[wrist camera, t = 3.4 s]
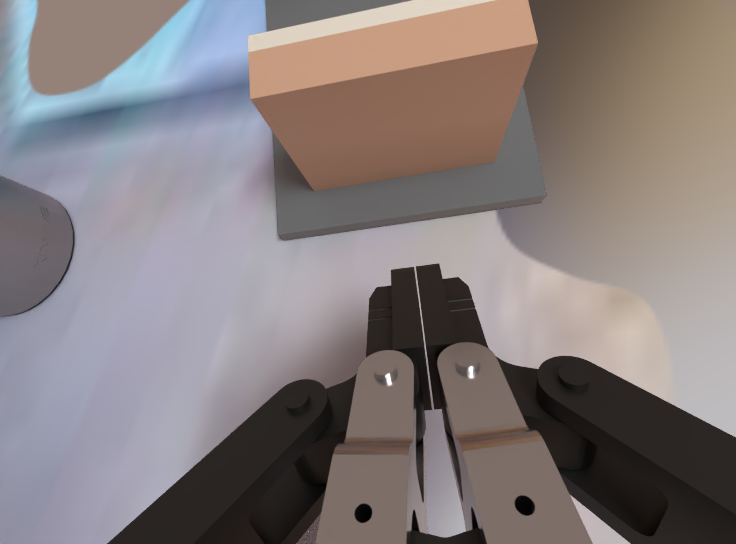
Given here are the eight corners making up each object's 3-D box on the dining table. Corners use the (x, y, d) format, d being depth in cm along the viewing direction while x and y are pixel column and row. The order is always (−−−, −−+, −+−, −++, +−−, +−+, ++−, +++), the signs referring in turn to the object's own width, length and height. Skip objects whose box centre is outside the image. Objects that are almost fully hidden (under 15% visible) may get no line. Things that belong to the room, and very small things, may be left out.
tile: (314, 191, 24) (250, 98, 15) (310, 147, 25) (247, 35, 16) (494, 162, 23) (538, 42, 14) (485, 117, 23) (522, -25, 14)
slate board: (284, 240, 25) (278, 234, 24) (269, -31, 30) (263, -46, 28) (540, 203, 23) (547, 195, 22) (480, -80, 28) (482, -99, 26)
